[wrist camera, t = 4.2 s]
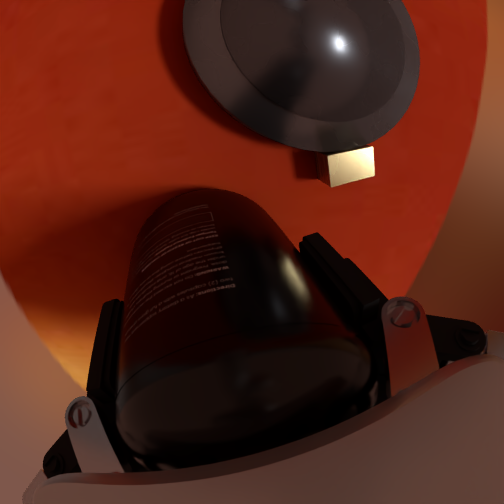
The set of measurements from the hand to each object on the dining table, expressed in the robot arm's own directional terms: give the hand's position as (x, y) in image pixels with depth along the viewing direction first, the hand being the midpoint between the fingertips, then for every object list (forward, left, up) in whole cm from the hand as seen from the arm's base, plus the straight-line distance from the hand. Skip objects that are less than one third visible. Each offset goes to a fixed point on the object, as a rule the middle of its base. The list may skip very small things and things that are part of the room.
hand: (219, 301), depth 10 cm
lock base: (-9, +7, -3) cm, 12 cm away
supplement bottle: (0, 0, -3) cm, 3 cm away
